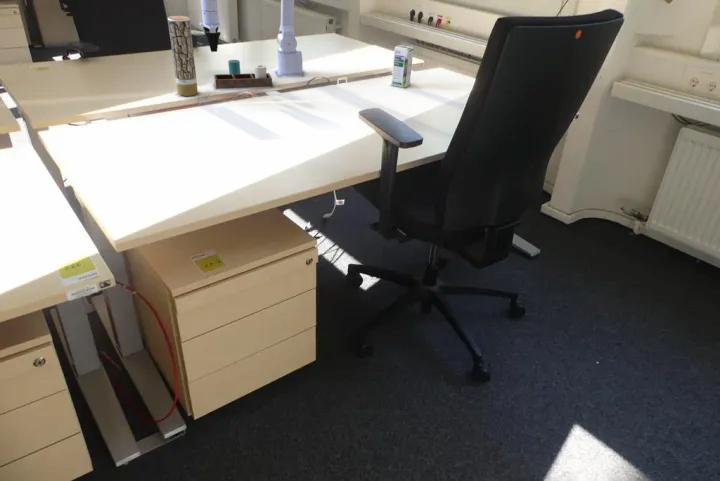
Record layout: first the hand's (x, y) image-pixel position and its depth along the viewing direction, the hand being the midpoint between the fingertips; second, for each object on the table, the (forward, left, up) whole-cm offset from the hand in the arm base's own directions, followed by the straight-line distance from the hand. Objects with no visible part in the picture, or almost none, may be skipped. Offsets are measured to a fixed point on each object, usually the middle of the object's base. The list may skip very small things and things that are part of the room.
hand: (213, 49), depth 202 cm
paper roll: (-7, +4, -10) cm, 13 cm away
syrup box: (-69, +20, -10) cm, 72 cm away
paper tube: (+11, +21, -10) cm, 26 cm away
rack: (-9, +14, -10) cm, 19 cm away
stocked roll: (-15, +14, -10) cm, 23 cm away
